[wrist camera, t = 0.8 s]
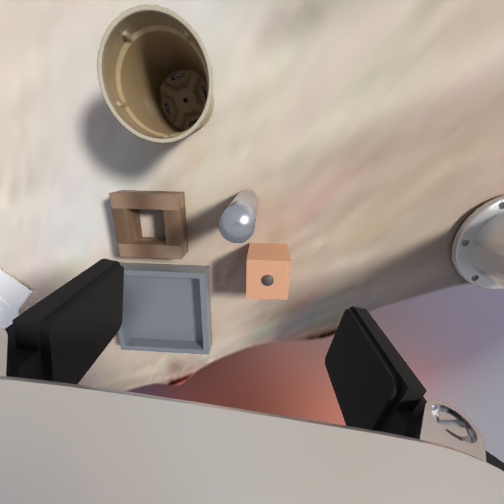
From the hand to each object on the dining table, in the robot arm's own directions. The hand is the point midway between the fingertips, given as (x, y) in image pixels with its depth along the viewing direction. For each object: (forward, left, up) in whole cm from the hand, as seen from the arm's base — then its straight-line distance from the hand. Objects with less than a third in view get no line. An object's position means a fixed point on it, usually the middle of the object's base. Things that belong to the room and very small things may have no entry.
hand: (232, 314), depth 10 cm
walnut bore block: (+13, +2, -23) cm, 27 cm away
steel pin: (+1, -1, -23) cm, 23 cm away
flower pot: (+8, -12, -23) cm, 27 cm away
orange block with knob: (-2, +7, -23) cm, 24 cm away
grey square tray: (+13, +15, -23) cm, 31 cm away
